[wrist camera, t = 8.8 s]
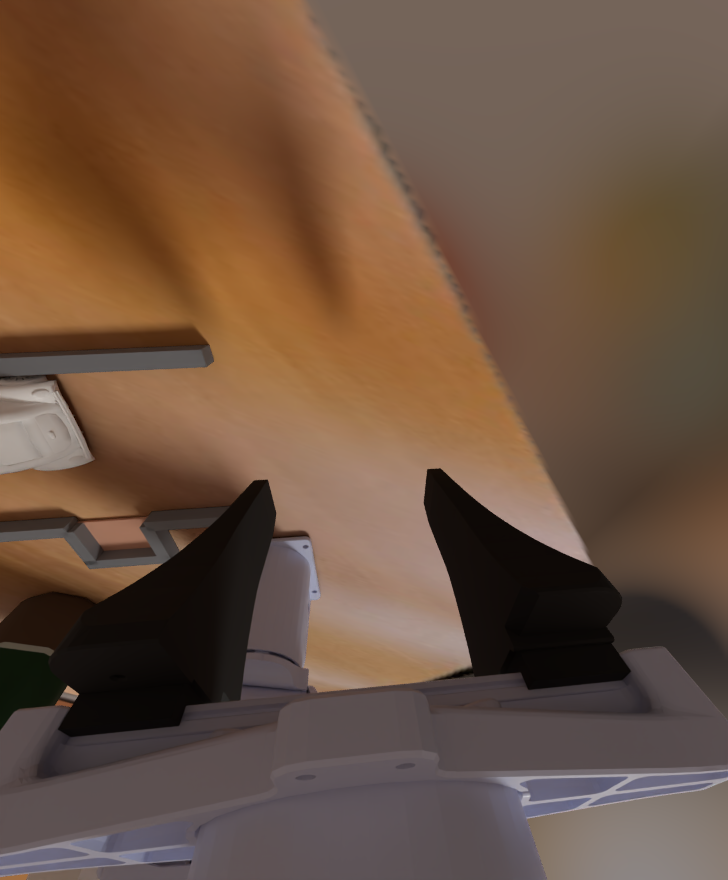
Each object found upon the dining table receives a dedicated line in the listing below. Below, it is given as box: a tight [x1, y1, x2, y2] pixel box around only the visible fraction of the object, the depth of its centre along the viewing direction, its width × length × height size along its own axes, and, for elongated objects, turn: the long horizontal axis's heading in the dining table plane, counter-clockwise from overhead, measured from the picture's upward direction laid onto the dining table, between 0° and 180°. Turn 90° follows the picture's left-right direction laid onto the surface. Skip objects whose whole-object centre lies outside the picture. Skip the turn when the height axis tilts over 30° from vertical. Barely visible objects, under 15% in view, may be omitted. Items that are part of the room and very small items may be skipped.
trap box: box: [0, 345, 230, 569], centre depth 19 cm, size 22×28×3 cm
